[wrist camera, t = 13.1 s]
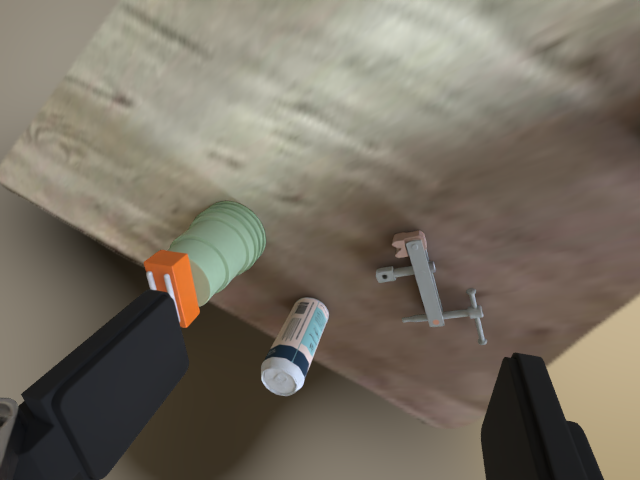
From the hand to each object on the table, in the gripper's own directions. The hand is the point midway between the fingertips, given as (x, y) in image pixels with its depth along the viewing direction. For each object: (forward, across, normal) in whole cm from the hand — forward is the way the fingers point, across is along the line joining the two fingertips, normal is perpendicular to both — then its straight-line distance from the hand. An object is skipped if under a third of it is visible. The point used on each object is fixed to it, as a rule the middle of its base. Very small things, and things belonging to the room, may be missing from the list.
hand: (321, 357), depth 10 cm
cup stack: (+28, +19, +12) cm, 36 cm away
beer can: (+28, +9, +22) cm, 37 cm away
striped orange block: (+17, +19, +12) cm, 28 cm away
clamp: (+28, -5, +16) cm, 33 cm away
